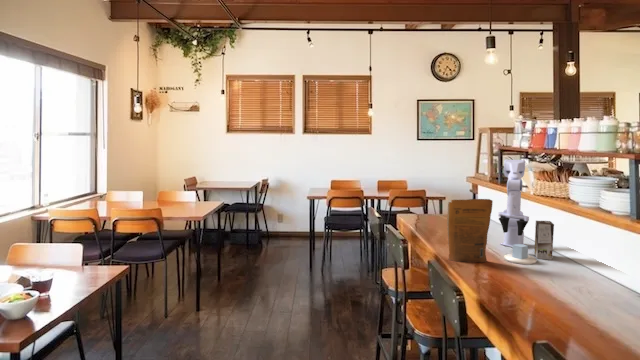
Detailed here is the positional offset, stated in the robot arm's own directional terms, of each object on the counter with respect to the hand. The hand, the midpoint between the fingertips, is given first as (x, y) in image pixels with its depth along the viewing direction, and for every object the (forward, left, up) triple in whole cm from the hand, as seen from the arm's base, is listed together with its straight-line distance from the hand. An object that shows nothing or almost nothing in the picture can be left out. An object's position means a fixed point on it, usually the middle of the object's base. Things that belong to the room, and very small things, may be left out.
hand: (512, 233), depth 197 cm
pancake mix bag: (+28, -2, -10) cm, 30 cm away
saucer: (+7, +9, -9) cm, 15 cm away
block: (+7, +9, -8) cm, 14 cm away
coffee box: (-7, +11, -10) cm, 16 cm away
